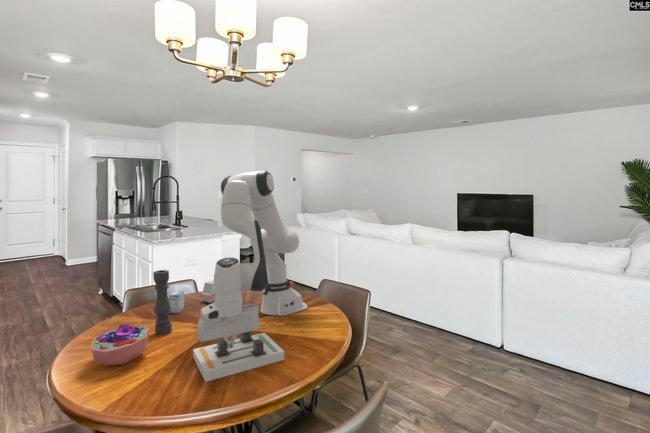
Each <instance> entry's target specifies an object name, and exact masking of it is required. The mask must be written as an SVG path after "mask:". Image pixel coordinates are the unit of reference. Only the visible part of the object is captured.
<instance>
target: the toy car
mask: <svg viewBox="0 0 650 433" xmlns="http://www.w3.org/2000/svg"><path fill="white" fill-rule="evenodd" d="M215 296H216V291H215V287H214V279H213V280H211V281H206V282H204V285H203V290H202V292H200V297H201V301H202V302H204V303H209V304H212V303H214V302H215Z"/></svg>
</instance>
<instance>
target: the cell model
mask: <svg viewBox="0 0 650 433" xmlns="http://www.w3.org/2000/svg"><path fill="white" fill-rule="evenodd" d="M149 333H150V328H149V327H148V326H144V325H135V326H133V324H130V323H129V324H128V323H124V324H121V325H120V326H119V327H118V328H114V329H110V330H107V331H105V332H103V333H101V334H98V335H97V336H95V338H93V340H91V341H90V347H91V354H92V359H93V360H94V361H95V362H97V363H98V364H101V365H105V366H111V367H112V366H121V365H126V364H127V363H129V362H131V361H133V360H134V359H136V358H137V357H139V356H141V355H142V354H143V353H144V352H145V351H146V349H147V347H148V344H149Z"/></svg>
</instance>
